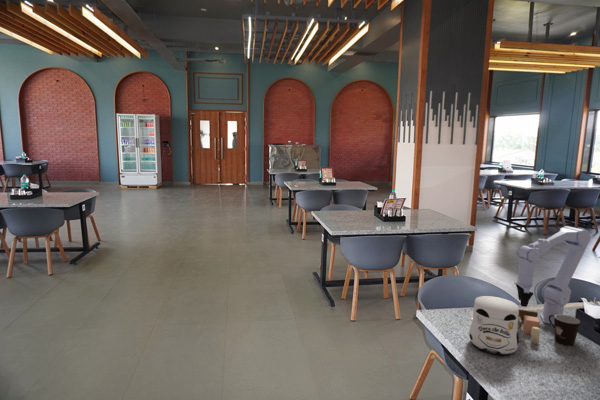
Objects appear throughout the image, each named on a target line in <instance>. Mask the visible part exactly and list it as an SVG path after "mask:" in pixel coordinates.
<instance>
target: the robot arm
mask: <svg viewBox="0 0 600 400" xmlns="http://www.w3.org/2000/svg"><path fill="white" fill-rule="evenodd" d="M590 234H591V233H590V231H588V230H587V229H583V228H582V229H581V228H577V227H574V226H573V227H572V226H570V225H565V226H563V227H561V228H559V231H558V232H556V233H554V234H553V235H551V236H549V237H547V238H538V239H537V240H536V241H534V242H532V243H529V244H528V245H521V246H520V247H519V248H518V250H517V251H516V255H517V257H518V273H517V279H516V280H517V281H513V284H514V285H515V286H516V289H517V297H518V300H519V301H520V307H525V308H527V307H528V305H529V302H530V300H531V298H532V297H533V295H534V292H533V291H530V290H531V288H532V287H533V285H534V284H533V281H534V271H535V262H536V261H537V260H538V259H539V257H541V255H543V254H545V253H547V252H549V251H550V250H552V249H551V248H552V247H553V246H556V245H557V244H560V243H563V242H564V243H565V244H566V246H568V248H569V249H568V250H567V253H566V256H565V257H564V259H563V261H562V262H561V263H562V264H561V265H560V268H559V269H558V271H557V274H556V275H555V278H554V279H553V280H550V281H548V282H547V283H546V285H545V286H544V287H543V288H542V290H541V296H542V297H543V301H544V303H543V311H542V313H540V317H541V319H542V321H543V323H544V324H549V325H551V323H550V322H549V316H550V315H554V316H555V315H558V314H561V315H564V310H565V307H566V306H567V304H568V303H569V302H570V301H571V299H570V298H571V294H572V290H571V289H570V287H569V285H570V282H571V280H572V278H573V276H574V274H575V271H576V270H577V268H578V266H579V264H580V263H581V260H582V258H583V256H584V253H585V252H586V250H587V248H588V245H589V243H590V241H591V239H592V237H591V235H590ZM550 320H551V322H552V324H553V325H554V326H555V324H554V317H551V318H550Z"/></svg>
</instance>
